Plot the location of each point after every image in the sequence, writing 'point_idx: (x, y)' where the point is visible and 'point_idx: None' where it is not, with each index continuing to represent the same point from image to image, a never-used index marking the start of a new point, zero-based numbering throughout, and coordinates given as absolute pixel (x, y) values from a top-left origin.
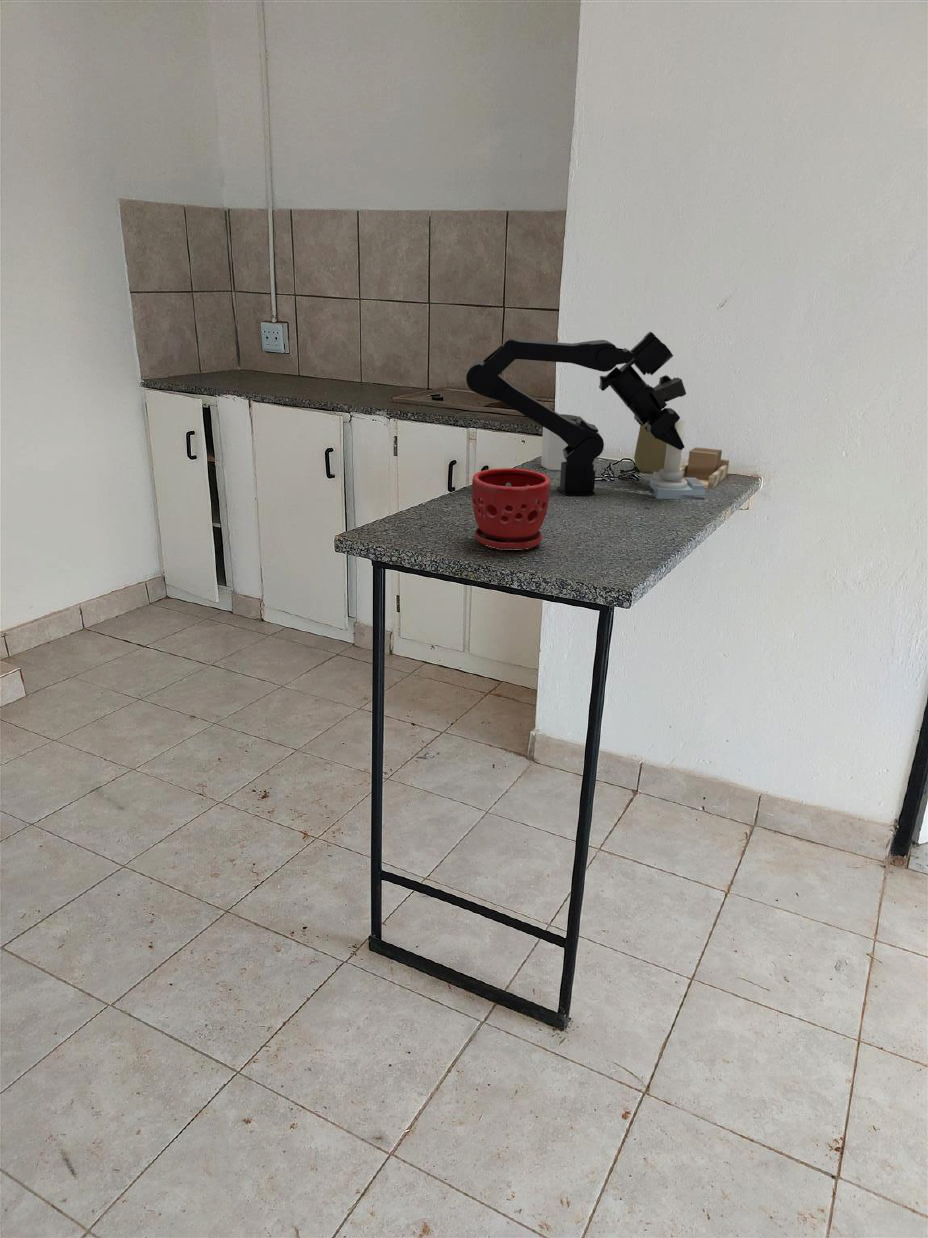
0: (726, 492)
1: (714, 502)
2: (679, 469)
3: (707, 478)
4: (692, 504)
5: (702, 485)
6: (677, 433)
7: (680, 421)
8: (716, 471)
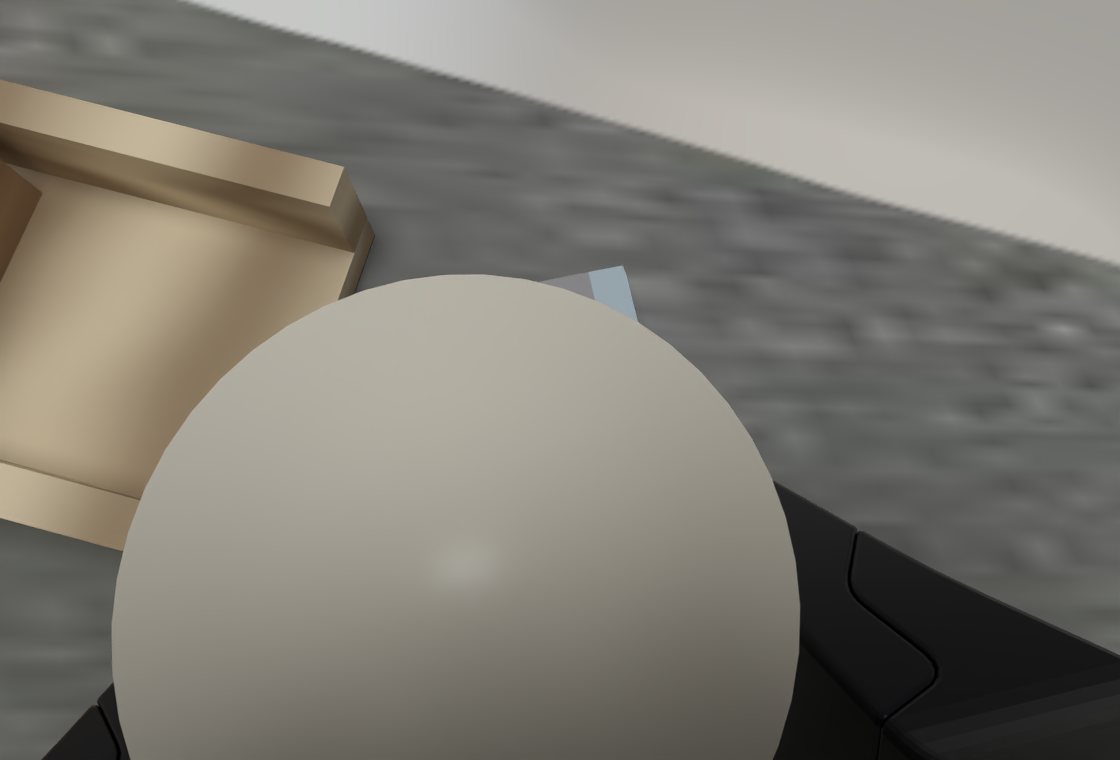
0: (305, 126)
1: (678, 232)
2: (10, 487)
3: (9, 232)
4: (808, 397)
5: (613, 285)
6: (892, 557)
7: (624, 460)
8: (49, 126)
